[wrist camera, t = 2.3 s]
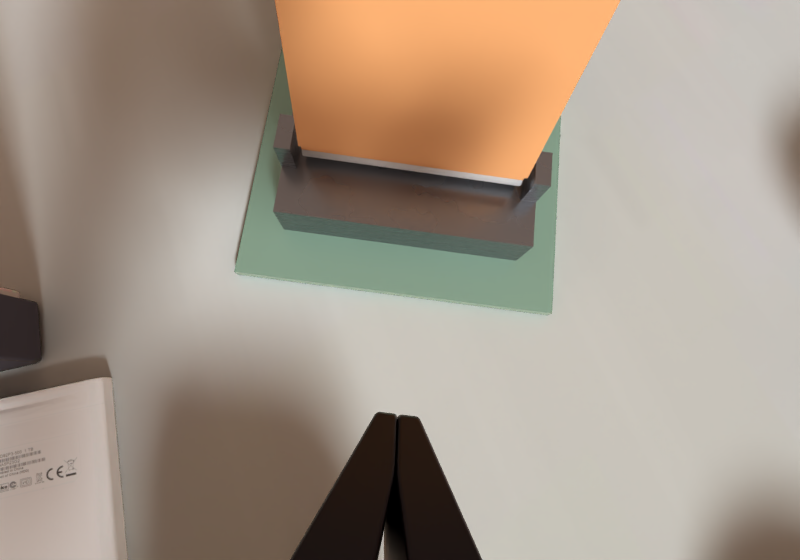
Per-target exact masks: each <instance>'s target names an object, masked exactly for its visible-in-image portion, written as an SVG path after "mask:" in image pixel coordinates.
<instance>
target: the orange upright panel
mask: <svg viewBox="0 0 800 560" xmlns="http://www.w3.org/2000/svg"><path fill="white" fill-rule="evenodd" d="M619 2H620V0H275V4H276V11H277V17H278V23H279V29H280V36H281V42H282V48H283V54H284V60H285V67H286V73H287V79H288V85H289V92H290V98H291V104H292V110H293V116H294V123H295V129H296V135H297V141H298V146H301V149H302V155H303V156H308V157H315V158H322V159H329V160H336V161H343V162H351V163H358V164H365V165H372V166H379V167H386V168H393V169H400V170H408V171H415V172H422V173H429V174H436V175H443V176H450V177H457V178H465V179H472V180H479V181H486V182H493V183H500V184H507V185H514V186H520V185H521V184H522V181H523V180H524V178H528V177H529V175H530V173H531V171H532V169H533V167H534V165H535V163H536V161H537V159H538V157H539V156H540V154H541V152H542V150H543V148H544V146H545V144H546V142H547V140H548V138H549V136H550V134H551V133H552V131H553V129H554V127H555V125H556V123H557V121H558V119H559V117H560V115H561V113H562V111H563V110H564V108H565V106H566V104H567V102H568V100H569V98H570V96H571V94H572V92H573V90H574V88H575V87H576V85H577V83H578V81H579V79H580V77H581V75H582V73H583V71H584V69H585V67H586V65H587V64H588V62H589V60H590V58H591V56H592V54H593V52H594V50H595V48H596V46H597V44H598V43H599V41H600V39H601V37H602V35H603V33H604V31H605V29H606V27H607V25H608V23H609V21H610V20H611V18H612V16H613V14H614V12H615V10H616V8H617V6H618V4H619Z"/></svg>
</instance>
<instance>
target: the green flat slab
mask: <svg viewBox="0 0 800 560" xmlns="http://www.w3.org/2000/svg"><path fill="white" fill-rule="evenodd" d="M292 113H293V110H292V104H291V98H290V92H289V85H288V79H287V73H286V67H285V60H284V54H283V48H282V50H281V55H280V59H279V64H278V69H277V73H276V78H275V83H274V88H273V92H272V97H271V102H270V106H269V111H268V116H267V120H266V125H265V130H264V135H263V139H262V144H261V149H260V153H259V158H258V163H257V168H256V172H255V177H254V182H253V186H252V191H251V196H250V200H249V205H248V210H247V215H246V219H245V224H244V229H243V233H242V238H241V243H240V247H239V252H238V257H237V262H236V266H235V271H234V272H235V273H237V274H238V275H246V276H254V277H261V278H269V279H277V280H284V281H292V282H299V283H307V284H315V285H322V286H330V287H337V288H345V289H353V290H360V291H368V292H376V293H383V294H391V295H398V296H406V297H414V298H421V299H429V300H436V301H444V302H452V303H459V304H467V305H475V306H482V307H490V308H497V309H505V310H513V311H520V312H528V313H535V314H543V315H549V314H552V301H553V279H554V257H555V234H556V212H557V190H558V168H559V146H560V124H561V115H560V117H559V119H558V121H557V123H556V125H555V127H554V129H553V131H552V133H551V134H550V136H549V138H548V140H547V142H546V144H545V146H544V148H543V150H542V151H544V152H551V153H553V155H552V176H551V187H550V188H549V189H548V190H547V191H546V192H545V193H544V194H543V195H542V196H541V197H540V199H539V200H538V201H537V202H536V209H535V227H534V245H533V247H532V248H531V249H530V250H529V251H528V252H526V253H525V254H524V255H523V256H521V257H520V258H519V259H518V260H516V261H514V260H507V259H499V258H492V257H484V256H477V255H470V254H462V253H455V252H447V251H440V250H433V249H425V248H418V247H410V246H403V245H396V244H388V243H381V242H373V241H366V240H359V239H351V238H344V237H336V236H329V235H321V234H314V233H307V232H299V231H292V230H284V229H283V227H282V225H281V224H280V222H279V221H278V219H277V217H276V216H275V214H274V212H273V208H274V203H275V198H276V193H277V188H278V183H279V178H280V173H281V168H282V167H281V164H280V162H279V160H278V157H277V155H276V153H275V151H274V148H273V145H274V140H275V135H276V130H277V125H278V120H279V116H280V114H285V115H292Z"/></svg>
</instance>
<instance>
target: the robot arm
mask: <svg viewBox="0 0 800 560" xmlns="http://www.w3.org/2000/svg"><path fill="white" fill-rule="evenodd" d="M383 531H384V560H482V558H481V556H480V554H479V551H478V549H477V547H476V545H475V542H474V540H473V538H472V536H471V533H470V531H469V529H468V527H467V524H466V522H465V520H464V518H463V515H462V513H461V511H460V509H459V506H458V504H457V502H456V499H455V497H454V495H453V493H452V490H451V488H450V486H449V484H448V481H447V479H446V477H445V475H444V472H443V470H442V468H441V466H440V463H439V461H438V459H437V457H436V454H435V452H434V450H433V448H432V445H431V443H430V441H429V438H428V436H427V434H426V432H425V429H424V427H423V425H422V423H421V421H420V419H419V418H418V417H416V416H408V415H399V416H398V417H397V416H396V415H395V414H392V413H384V412H377V413H376V414H375V415H374V417H373V419H372V420H371V422H370V424H369V426H368V427H367V429H366V431H365V432H364V434H363V436H362V437H361V439H360V441H359V443H358V444H357V446H356V448H355V449H354V451H353V453H352V455H351V456H350V458H349V460H348V461H347V463H346V465H345V467H344V468H343V470H342V472H341V473H340V475H339V477H338V479H337V480H336V482H335V484H334V485H333V487H332V489H331V491H330V492H329V494H328V496H327V497H326V499H325V501H324V503H323V504H322V506H321V508H320V509H319V511H318V513H317V514H316V516H315V518H314V520H313V521H312V523H311V525H310V526H309V528H308V530H307V532H306V533H305V535H304V537H303V538H302V540H301V542H300V544H299V545H298V547H297V549H296V550H295V552H294V554H293V556H292V557H291V559H290V560H378V555H379V551H380V546H381V541H382V536H383Z"/></svg>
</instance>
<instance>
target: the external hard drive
mask: <svg viewBox="0 0 800 560" xmlns="http://www.w3.org/2000/svg"><path fill="white" fill-rule="evenodd" d="M0 560H128V553H127V541H126V531H125V519H124V507H123V497H122V485H121V474H120V462H119V451H118V439H117V428H116V416H115V406H114V392H113V382H112V378H111V377H100V378H94V379H88V380H84V381H79V382H75V383H71V384H66V385H61V386H56V387H52V388H48V389H43V390H38V391H34V392H29V393H24V394H20V395H15V396H10V397H5V398H0Z"/></svg>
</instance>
